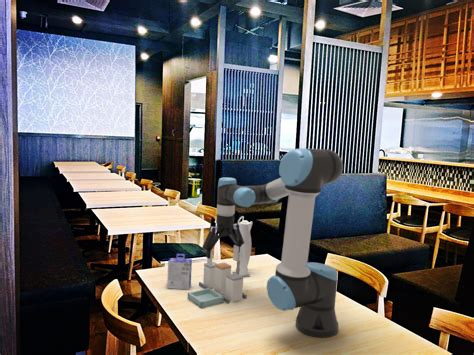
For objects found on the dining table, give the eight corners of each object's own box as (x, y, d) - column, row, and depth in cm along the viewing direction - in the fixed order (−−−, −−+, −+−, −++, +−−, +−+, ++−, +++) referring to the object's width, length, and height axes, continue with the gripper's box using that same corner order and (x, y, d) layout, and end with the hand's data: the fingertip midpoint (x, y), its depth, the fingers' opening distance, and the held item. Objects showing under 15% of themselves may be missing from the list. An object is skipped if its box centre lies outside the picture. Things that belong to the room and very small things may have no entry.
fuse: (230, 292, 175) (231, 265, 174) (220, 295, 172) (221, 267, 171) (223, 288, 179) (224, 262, 178) (213, 291, 176) (215, 264, 174)
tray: (223, 302, 165) (223, 296, 164) (201, 308, 158) (201, 302, 158) (209, 293, 173) (209, 287, 173) (187, 298, 167) (187, 292, 166)
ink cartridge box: (191, 285, 181) (192, 253, 180) (189, 290, 176) (190, 257, 174) (169, 284, 181) (170, 252, 180) (166, 288, 176) (167, 256, 174)
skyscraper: (231, 271, 201) (234, 216, 198) (246, 270, 204) (249, 215, 200) (236, 277, 193) (239, 219, 190) (252, 276, 196) (255, 219, 192)
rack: (246, 298, 170) (247, 275, 169) (227, 303, 164) (228, 280, 163) (216, 281, 187) (217, 260, 186) (198, 285, 181) (199, 264, 180)
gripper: (243, 210, 182) (240, 256, 185) (195, 214, 167) (193, 264, 170) (254, 213, 176) (250, 260, 179) (205, 218, 161) (202, 270, 164)
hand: (222, 262), depth 174 cm, fingers open, 13 cm apart
